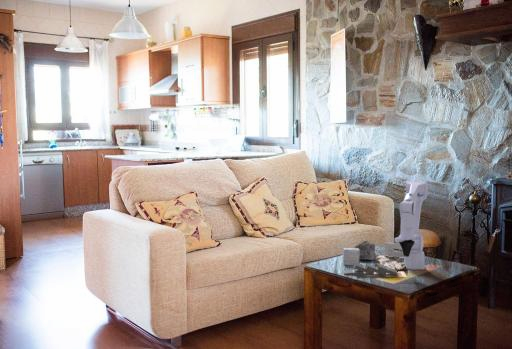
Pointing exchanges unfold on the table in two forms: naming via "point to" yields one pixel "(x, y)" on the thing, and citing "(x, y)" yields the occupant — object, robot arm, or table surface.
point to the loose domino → (387, 269)
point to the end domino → (353, 272)
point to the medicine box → (350, 256)
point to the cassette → (393, 246)
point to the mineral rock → (366, 250)
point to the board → (387, 274)
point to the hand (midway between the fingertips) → (406, 256)
